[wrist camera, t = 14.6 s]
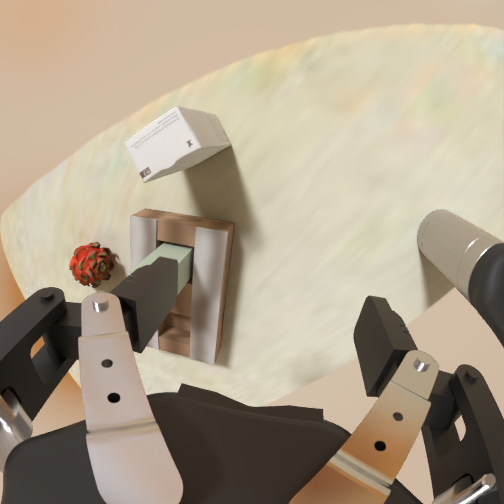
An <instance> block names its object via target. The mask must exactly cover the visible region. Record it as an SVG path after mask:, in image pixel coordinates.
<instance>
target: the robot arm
mask: <svg viewBox="0 0 504 504" xmlns="http://www.w3.org/2000/svg"><path fill="white" fill-rule="evenodd" d="M418 246H419V249H420V251H421V253H422V254H423V255H424V256H425V257H426V258H427V259H428V260H429V261H430V262H431V263H432V264H433V265H434V266H435V267H436V268H437V269H438V270H439V271H440V272H441V273H442V274H443V275H444V276H445V277H446V278H447V279H448V280H449V281H450V282H451V283H452V284H453V285H454V286H455V287H456V288H457V290H459V291H460V293H461V294H462V295H463V296H464V297H465V298H466V299H467V300H468V301H469V302H470V303H471V305H472V306H473V307H474V308H475V309H476V310H477V311H478V313H479V314H480V315H481V316H482V318H483V319H484V320H485V321H486V323H487V324H488V325H489V327H490V328H491V329H492V331H493V332H494V333H495V335H496V336H497V338H498V339H499V341H500V342H501V344H502V346H503V347H504V242H503V241H501V240H500V239H498V238H496V237H495V236H493V235H491V234H489V233H488V232H486V231H484V230H483V229H481V228H479V227H477V226H475V225H474V224H472V223H470V222H468V221H466V220H464V219H463V218H461V217H459V216H457V215H455V214H453V213H451V212H449V211H447V210H436V211H434V212H431V213H430V214H429V215H428V216H427V217H426V218H425V219H424V220H423V222H422V224H421V226H420V228H419V232H418ZM177 293H178V261H177V260H176V259H171V258H167V257H162V256H160V257H158V258H157V259H156V260H155V261H154V262H153V263H152V264H151V265H145V266H142V267H140V268H137V269H136V270H135V271H134V272H133V273H131V275H129V276H128V277H127V278H126V279H125V280H123V281H122V282H121V283H120V284H119V285H118V286H117V287H116V288H114V289H113V290H112V291H111V292H110V293H105V292H100V293H94V294H91V295H89V296H87V297H86V298H85V299H84V300H83V301H82V303H73V302H66V301H65V296H64V292H63V291H62V290H61V289H59V288H54V287H48V288H43V289H40V290H38V291H37V292H35V293H34V294H33V295H31V296H30V297H29V298H28V299H27V300H25V301H24V302H23V303H22V304H20V305H19V306H18V307H17V308H16V309H15V310H13V311H12V312H11V313H10V314H9V315H7V316H6V317H5V318H4V319H3V320H2V321H1V322H0V471H1V472H2V473H3V494H2V501H1V504H423V503H421V501H419V500H418V499H417V498H416V497H415V496H414V495H413V494H412V493H411V492H410V491H409V490H408V489H407V488H406V487H404V486H403V485H402V484H401V483H400V482H399V481H398V480H397V479H396V478H395V477H396V476H397V474H398V472H399V471H400V469H401V467H402V465H403V463H404V461H405V460H406V458H407V456H408V454H409V452H410V450H411V448H412V446H413V444H414V442H415V440H416V438H417V436H418V434H419V432H420V429H421V431H422V435H423V439H424V444H425V448H426V453H427V458H428V464H429V469H430V475H431V481H432V488H433V495H434V500H433V502H432V504H504V419H503V417H502V414H501V412H500V410H499V408H498V406H497V403H496V401H495V399H494V397H493V395H492V393H491V391H490V389H489V387H488V385H487V383H486V381H485V379H484V377H483V376H482V374H481V373H480V372H479V371H478V370H477V369H476V368H474V367H472V366H470V365H465V364H463V365H460V366H459V367H458V368H457V370H456V371H455V373H454V374H450V373H447V372H443V371H440V370H439V366H438V363H437V362H436V360H435V359H434V358H433V357H432V356H431V355H429V354H427V353H425V352H423V351H419V350H418V349H417V347H416V345H415V343H414V341H413V339H412V337H411V335H410V333H409V331H408V329H407V327H405V326H406V325H405V323H404V322H403V320H402V318H401V317H400V316H399V315H398V314H397V313H396V312H395V311H392V310H391V308H390V306H389V304H388V302H387V300H386V299H385V298H381V297H375V296H368V297H367V298H366V300H365V302H364V305H363V308H362V310H361V313H360V316H359V318H358V321H357V323H356V326H355V330H354V343H355V347H356V351H357V355H358V359H359V363H360V367H361V372H362V376H363V381H364V385H365V389H366V394H367V396H369V397H378V400H377V402H376V403H375V404H374V406H373V407H372V408H371V410H370V411H369V413H368V414H367V415H366V417H365V418H364V419H363V421H362V422H361V423H360V425H359V426H358V427H357V428H356V430H355V431H354V432H353V434H350V433H349V432H348V431H347V430H345V429H343V428H342V427H340V426H338V425H336V424H334V423H332V422H329V421H327V420H324V419H323V409H316V408H306V407H297V406H290V405H288V406H269V407H251V406H247V405H245V404H242V403H240V402H238V401H235V400H233V399H231V398H228V397H226V396H224V395H221V394H219V393H217V392H214V391H209V390H205V389H201V388H197V387H194V386H190V385H186V384H181V386H180V389H179V391H178V393H175V392H164V393H155V394H150V395H146V393H145V390H144V387H143V384H142V381H141V378H140V374H139V371H138V368H137V364H136V361H135V357H134V354H133V351H135V352H138V353H142V352H143V350H144V349H145V347H146V346H147V344H148V343H149V341H150V340H151V338H152V337H153V336H154V334H155V333H156V331H157V330H158V328H159V327H160V325H161V324H162V323H163V321H164V320H165V318H166V317H167V315H168V314H169V312H170V311H171V310H172V308H173V307H174V305H175V303H176V299H177ZM41 336H42V338H43V340H44V343H45V344H44V346H43V347H42V348H41V349H40V350H39V351H38V352H37V353H36V354H35V356H34V357H33V358H32V359H31V356H30V353H31V348H32V346H33V345H34V344H35V342H37V340H38V339H39V338H40V337H41ZM76 360H79V366H80V379H81V389H82V397H83V405H84V413H85V420H83V421H80V422H77V423H74V424H72V425H69V426H66V427H63V428H60V429H57V430H54V431H51V432H48V433H45V434H42V435H38V436H35V437H31V435H32V431H33V425H32V421H33V420H34V418H35V417H36V415H37V414H38V412H39V411H40V409H41V408H42V406H43V405H44V403H45V402H46V401H47V399H48V398H49V396H50V395H51V394H52V392H53V391H54V389H55V388H56V387H57V385H58V384H59V383H60V381H61V380H62V378H63V377H64V376H65V374H66V373H67V372H68V370H69V369H70V368H71V366H72V365H73V364H74V362H75V361H76ZM461 415H462V418H463V420H464V423H465V426H466V433H465V436H464V438H463V439H462V440H461V441H460V439H459V436H458V433H457V429H456V427H455V421H456V420H457V419H458V418H459V417H460V416H461Z"/></svg>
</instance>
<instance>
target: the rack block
mask: <svg viewBox="0 0 504 504" xmlns="http://www.w3.org/2000/svg"><path fill="white" fill-rule="evenodd" d="M234 225H235V223H232V222H226V221H220V220H214V219H208V218H202V217H196V216H190V215H184V214H177V213H171V212H165V211H158V210H152V209H144V210H142V211H140V212H138V213H136V214H134V215H132V216H130V245H131V269H133V268H134V267H135V266H136V265H137V264H139V263H140V262H141V261H142V260H143V259H145V258H146V257H147V256H148V255H149V254H151V253H152V252H153V251H154V250H156V249H157V248H158V247H159V246H160V245H162V244H163V243H164V242H165V241H166V242H171V243H177V244H182V245H187V246H192V247H195V248H194V263H193V275H192V277H191V278H190V279H189V281H188V282H187V283H186V285H185V286H184V287H183V289H182V290H181V291H180V293H179V294H178V296H177V299H176V303H175V305H174V307H173V308H172V310H171V311H170V312H169V314H168V315H167V317H166V318H165V320H164V321H163V323H162V324H161V325H160V327H159V328H158V330H157V331H156V333H155V334H154V336H153V337H152V338H151V340H150V341H149V343H148V344H147V346H148V347H151V348H154V349H158V350H159V349H161V350H165V351H168V352H172V353H175V354H179V355H183V356H186V357H190V359H194V360H198V361H202V362H206V363H210V364H214V363H215V360H216V357H217V355H218V352H219V349H220V344H221V335H222V326H223V317H224V308H225V299H226V290H227V282H228V273H229V265H230V257H231V249H232V241H233V233H234Z"/></svg>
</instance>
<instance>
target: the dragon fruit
mask: <svg viewBox="0 0 504 504" xmlns="http://www.w3.org/2000/svg"><path fill="white" fill-rule="evenodd" d="M110 253H111V251H110V249H109V248H101V249H100V244H99V243H98V242H95V243H90V244H89V245H87V246H80V247H78V248H77V249H76V250H75V252H74V256H73V257H72V259H71V262H70V270H72V274H73V276H74V277H75V280H76V281H77V280H79V281H80V283H81V284H82V285H84V286H86V285H88V286H90V285H89V283H91V284H92V285H93V286H92V287H93V288H96V287H98V285H100V284H101V280H109V279H110V278H111V275H110V274H109V271H110V270H111V269H113V267H114V264H113V262H112V261H111V259H110V258H109V257H108V256H109V254H110Z"/></svg>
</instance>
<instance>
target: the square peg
mask: <svg viewBox="0 0 504 504" xmlns="http://www.w3.org/2000/svg"><path fill="white" fill-rule="evenodd" d="M194 248H195V247H192V246H187V245H182V244H177V243H171V242H166V241H165V242H164V243H163V244H162V245H160V246H159V247H158V248H157V249H156V250H154V251H153V252H152V253H151V254H149V255H148V256H147V257H146V258H145V259H143V260H142V261H141V262H140V263H139V264H137V265H136V266H135V267H134V268H133V269H131V270H130V275H131V273H133V272H134V271H135V270H136V269H137V268H140V267H142V266H145V265H151V264H152V263H153V262H154V261H155V260H156V259H157V258H158V257H160V256H162V257H167V258H171V259H176V260H177V261H178V293H177V296H178V294H179V293H180V291H181V290H182V289H183V287H184V286H185V285H186V283H187V282H188V281H189V279H190V278H191V277H192V275H193V263H194Z"/></svg>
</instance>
